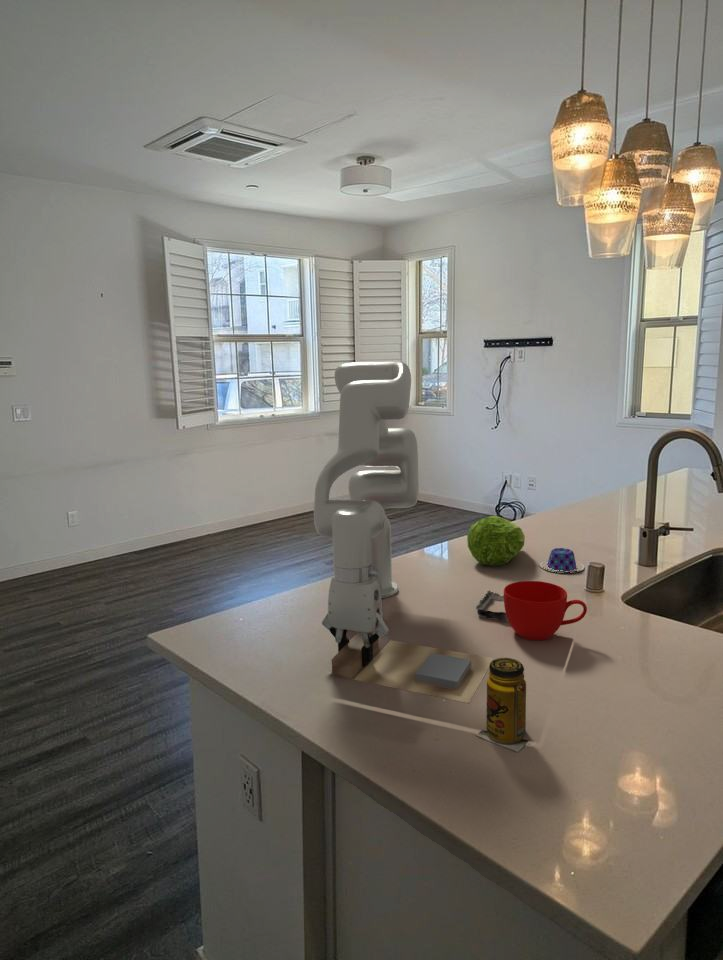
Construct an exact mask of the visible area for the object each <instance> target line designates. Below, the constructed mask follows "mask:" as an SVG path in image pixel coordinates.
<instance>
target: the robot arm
mask: <svg viewBox="0 0 723 960" xmlns="http://www.w3.org/2000/svg"><path fill="white" fill-rule="evenodd" d="M334 382H335V386H336V388H337V390H338V392H339V394H340V397H339V418H338V420H339V422H338V423H339V424H338V445H337V447H338V448H337V452H336V453H335V454H334V455H333V456H332V457H331V458H330V459H329V461H328V462H327V463H326V464H325V465H324V467H323V468H322V470H321V472H320V473H319V476H318V478H317V480H316V484H315V488H314V504H313V505H314V506H313V523H314V528H315V531H316V532H317V534H318V535H320V536H322V537H326V538H331V539H332V560H333V562H332V564H333V577H331V580H330V583H329V589H328V599H327V600H328V601H327V614H326V615H325V617H324V618H323V620H322V622H321V625H322V626H323V627H324V628H326V630H327V631H329V633H330V634H331V635H332V636H333V637H334V640H335V642H336V643H337V647H338V648H337V649H338V650H337V653H338V652H339V651H340V650H341V649H342V648H343V647H344V646H345V645H346V644H347V643H348V642H349V641H350V638H349V637H348V631H351V632H357V633H358V632H361V634H362V638H363V643H364V646H363V647H362V649H361V651H362V666H363V667H364V668H365V667H366V666H367V665H368V664H369V663H370V662H371V661H372V659H373V658H374V654H373V643H374V642H375V641H376V640H379V639H381V638H384V637H385V636H387V635H388V634H389V633H390V629H389V628H388V626H387V625H386V623H385V621H384V620H383V619H384V618H383V606H382V605H383V603H382V599H385V598H389V597H392V596H394V595H395V594H396V593H397V592H398V591H399V585H398V583H397V582H395V581H393V576H392V575H393V574H392V566H393V565H392V526H391V523H390V520H389V518H388V517H387V516H386V511H385V509H405V508H406V509H408V508H413V507H414V506H416V504H417V502H418V499H419V490H420V489H419V488H420V487H419V454H418V453H419V452H418V441H417V437H416V435H415V433H414V431H413V430H412V429H410V428H406V427H388V426H387V420H402V419H404V418H406V416H407V413H408V411H409V407H410V401H411V390H412V389H411V388H412V375H411V370H410V367H409V365H408V364H407V363H405V362H403V361H355V362H347V363H343V364H340V365H338V366H337V367H336V368H335V370H334ZM359 466H361V467H366V468H367V467H368V468H369V467H370V468H397V469H392V470H391V469H367V470H366V469H365V470H360V471H357V472H354V473H353V474H352V475H351V477H350V478H349V481H348V494H349V499H330V494H331V493H330V491H331V488H332V486H333V484H334V483H335V482H336V480H338V478H339V477H340V476H341V475H343V474H345V473H346V472H348V471H350V470H352V469H354V468H356V467H359ZM376 628H377V629H378V630H377V631H375V630H376ZM374 632H376V633H375V634H374Z"/></svg>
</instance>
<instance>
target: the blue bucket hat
mask: <svg viewBox="0 0 723 960" xmlns="http://www.w3.org/2000/svg"><path fill="white" fill-rule="evenodd" d="M548 557H549V558H548V559H546V560H543V561H541V562H540V563H539V566H540V567H541V568H542V569H544V570H546V571H549V572H553V573H554V570H559V571H560V570H563V571H570V570H574V569H576V567H577V566H576V562H577V563H580V562H578V561H576V557H575V553H574V551H573V550H571V549H570V548H564V547H559V548H558V547H555V548H553V549H552V550H551V551H550V554H549V556H548ZM545 561H548V563H547V565H548V567H549V568H552V569H554V570H552V571H550V570H547V569H545V568H543V567H542V563H543V562H545ZM580 564H581V565H582V566H583V568H582V569H581V570H580V571H577V572H576V573H578V572H581V571H583V570H584V569H585V565H583V564H582V563H580ZM548 567H547V568H548ZM576 570H577V569H576ZM558 573H563V574H565V573H564V572H562V571H561V572H558ZM570 573H571V574H572V573H575V572H572V571H570ZM570 573H569V574H570Z"/></svg>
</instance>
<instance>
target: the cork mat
mask: <svg viewBox="0 0 723 960" xmlns="http://www.w3.org/2000/svg"><path fill="white" fill-rule="evenodd" d="M431 653H435V654H440V655H446V656H451V657H457V658H463V659H468V660H471V668H470V670H469V671H468V673H467V675H466V676H465V678H464V679H463V681H462V683H461V684H460V686H459V688H458V689H457V690H452V689H447V688H442V687H437V686H432V685H427V684H422V683H417V682H416V681H415V673H416V671H417V670H418V669H419V668H420V666H421V665H422V664H423V662H424V661H425V660H426V659H427V657H428V656H429V655H430V654H431ZM494 659H495V657H488V656H485V655H477V654H473V653H466V652H461V651H455V650H454V651H453V650H448V649H444V648H443V649H442V648H436V647H431V646H426V645H425V646H424V645H419V644H415V643H414V644H413V643H410V642H409V643H408V642H401V641H397V640H396V641H395V640H389V642H388V643H387V644H386V645H384V646H383V648H382V649H381V650H380V651H379V652H378V653H377V654H376V655H375V656H373V659H372V661H371V662H370V663H369V664H368V665H367V666H366V667H364V668H362V670H361V671H360V672H358V673H357V674H356V675H355V676H354V677H353V680H354V681H360V682H364V683H370V684H372V685H373V684H374V685H379V686H384V687H389V688H393V689H398V690H402V691H407V692H413V693H418V694H422V695H428V696H433V697H435V698H436V697H437V698H442V699H446V700H452V701H455V702H456V701H457V702H461V703H465V704H470V702H471V700H472V699H473V697H474V695H475V694H476V691H477V690H478V689H479V686H480V684H481V682H482V681H483V679H484V677H485V675H486V674H487V672H488V670H489V669H490V667H489V666H490V663H491V662H492V661H493V660H494Z"/></svg>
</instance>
